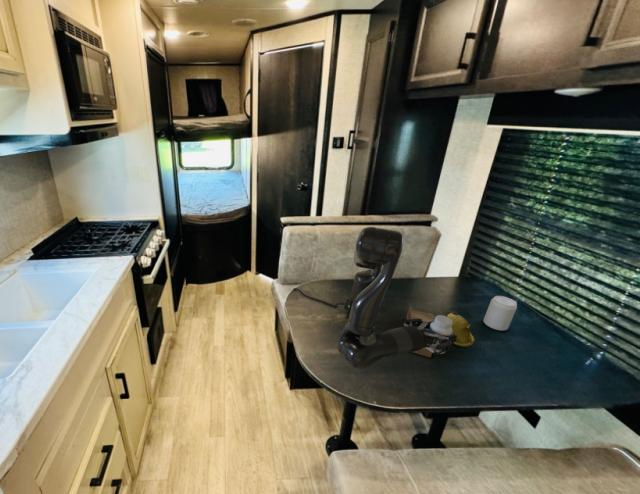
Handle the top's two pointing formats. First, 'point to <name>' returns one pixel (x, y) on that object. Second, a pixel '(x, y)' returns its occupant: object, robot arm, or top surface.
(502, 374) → the top surface
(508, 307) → the white cylinder
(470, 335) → the yellow flared lump
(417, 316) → the striped tan crate
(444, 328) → the pill bottle
